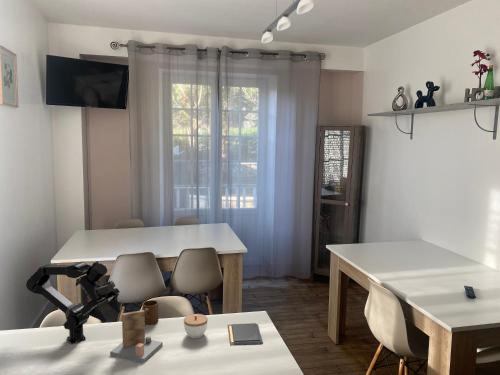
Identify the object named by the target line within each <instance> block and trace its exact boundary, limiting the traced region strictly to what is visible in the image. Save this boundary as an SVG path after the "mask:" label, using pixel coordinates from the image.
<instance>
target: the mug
mask: <svg viewBox="0 0 500 375" xmlns="http://www.w3.org/2000/svg"><path fill="white" fill-rule="evenodd" d="M141 309H142V310H144V315H145V325H148V326H149V325H155V324H157V323H158V322H159V302H158V301H157V300H155V299H154V300H152V299H151V300H146V301H144V302H142V308H141Z"/></svg>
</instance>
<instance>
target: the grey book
mask: <svg viewBox="0 0 500 375" xmlns="http://www.w3.org/2000/svg"><path fill="white" fill-rule="evenodd" d="M227 331H228V340H229V341H228V342H229V346H230V347H231V346H237V347H238V346H259V345H260V346H261V345H264V341H263V337H262V335H261V332H260V326H259V324H258V323H253V322H252V323H232V324H227Z"/></svg>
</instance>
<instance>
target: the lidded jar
mask: <svg viewBox="0 0 500 375" xmlns="http://www.w3.org/2000/svg"><path fill="white" fill-rule="evenodd" d="M208 320H209V318H208V317H207V316H206V315H204V314H201V313H194V314H188V315H186V316H185V317H184V319H183V326H184V328H183V329H184V332H185V333H186V334H187V335H188V336H189V338H191V339H199V338H201V337H203V335H204V334H205V333H206V331H207V329H208Z"/></svg>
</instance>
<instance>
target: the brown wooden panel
mask: <svg viewBox="0 0 500 375" xmlns="http://www.w3.org/2000/svg"><path fill="white" fill-rule="evenodd" d="M121 320H122V321H121V323H122V324H121V326H122V330H121V331H122V335H121V336H122V342H123V347H127V346H132V345H137V344H138V343H145V338H146V334H145V333H146V331H145V330H146V329H145V328H146V324H145V315H144V310H137V311H131V312H124V313H121Z"/></svg>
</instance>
